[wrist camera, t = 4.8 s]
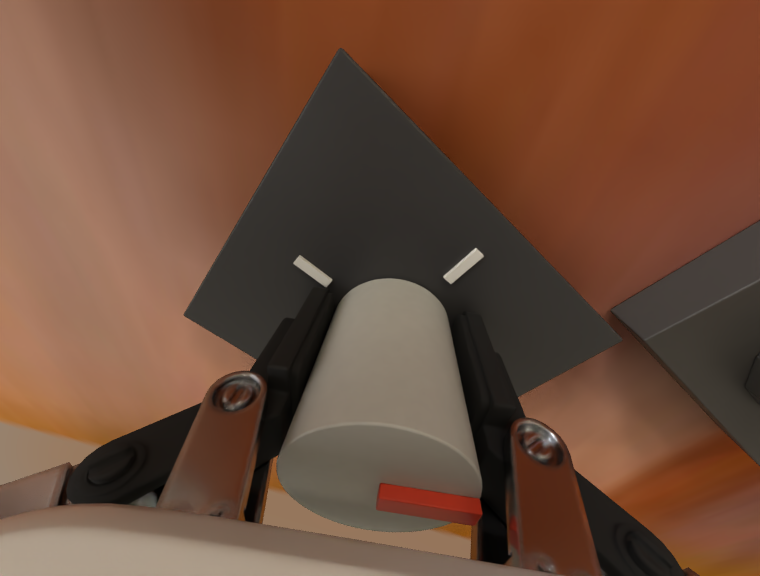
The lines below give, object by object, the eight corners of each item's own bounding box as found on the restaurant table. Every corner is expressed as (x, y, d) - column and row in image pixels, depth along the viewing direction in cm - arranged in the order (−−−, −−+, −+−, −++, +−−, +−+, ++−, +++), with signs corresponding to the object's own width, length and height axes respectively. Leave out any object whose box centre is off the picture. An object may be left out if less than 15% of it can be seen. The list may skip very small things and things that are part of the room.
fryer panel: (223, 280, 14) (179, 317, 11) (358, 67, 9) (338, 43, 7) (412, 405, 17) (413, 457, 15) (580, 297, 13) (627, 343, 10)
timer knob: (332, 361, 12) (276, 531, 7) (336, 268, 10) (258, 422, 5) (434, 376, 12) (454, 560, 7) (462, 288, 10) (522, 463, 5)
